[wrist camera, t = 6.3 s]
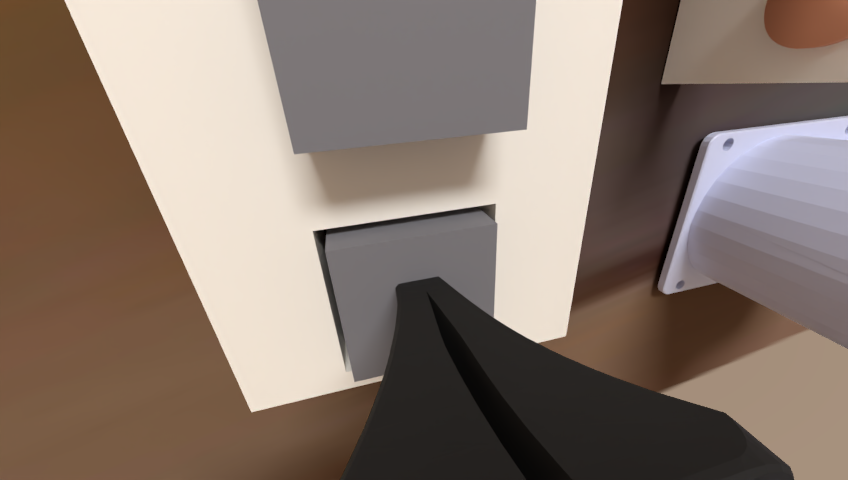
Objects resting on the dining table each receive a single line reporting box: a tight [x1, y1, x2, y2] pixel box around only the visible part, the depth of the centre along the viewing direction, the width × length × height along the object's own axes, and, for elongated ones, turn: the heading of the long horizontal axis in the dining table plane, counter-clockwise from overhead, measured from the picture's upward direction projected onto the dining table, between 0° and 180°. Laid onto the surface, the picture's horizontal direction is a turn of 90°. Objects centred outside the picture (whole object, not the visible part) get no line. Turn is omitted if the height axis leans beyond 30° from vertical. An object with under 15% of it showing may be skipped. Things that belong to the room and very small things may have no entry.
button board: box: [65, 0, 623, 412], centre depth 8 cm, size 12×22×2 cm, turn 4°
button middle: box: [257, 0, 536, 154], centre depth 7 cm, size 5×5×3 cm
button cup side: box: [325, 207, 498, 382], centre depth 11 cm, size 5×5×3 cm
